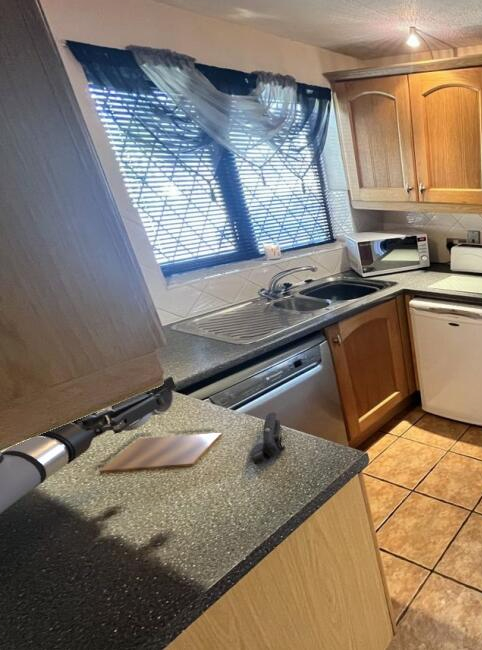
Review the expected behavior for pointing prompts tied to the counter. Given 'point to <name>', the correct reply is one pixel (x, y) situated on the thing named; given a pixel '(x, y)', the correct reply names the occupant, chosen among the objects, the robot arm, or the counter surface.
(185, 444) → the oak board
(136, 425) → the ceramic mug
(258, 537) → the counter surface
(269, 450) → the can opener
